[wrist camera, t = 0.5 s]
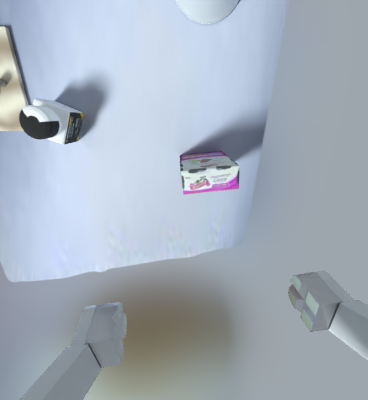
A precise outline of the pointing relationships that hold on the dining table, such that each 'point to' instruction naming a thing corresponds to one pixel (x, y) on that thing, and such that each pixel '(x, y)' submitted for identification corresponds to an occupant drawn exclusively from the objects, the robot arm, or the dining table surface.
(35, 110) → the medicine bottle
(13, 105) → the stub cradle
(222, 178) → the candy bar box
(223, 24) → the dining table surface
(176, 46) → the dining table surface
